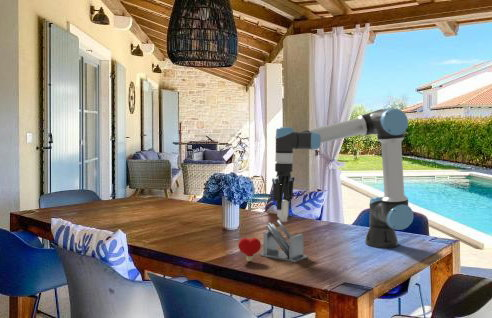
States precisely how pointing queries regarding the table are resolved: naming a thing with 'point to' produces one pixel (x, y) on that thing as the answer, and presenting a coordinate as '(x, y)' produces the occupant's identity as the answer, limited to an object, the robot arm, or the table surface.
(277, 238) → the chute
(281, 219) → the peg
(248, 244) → the red heart on stand
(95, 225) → the table surface
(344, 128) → the robot arm
